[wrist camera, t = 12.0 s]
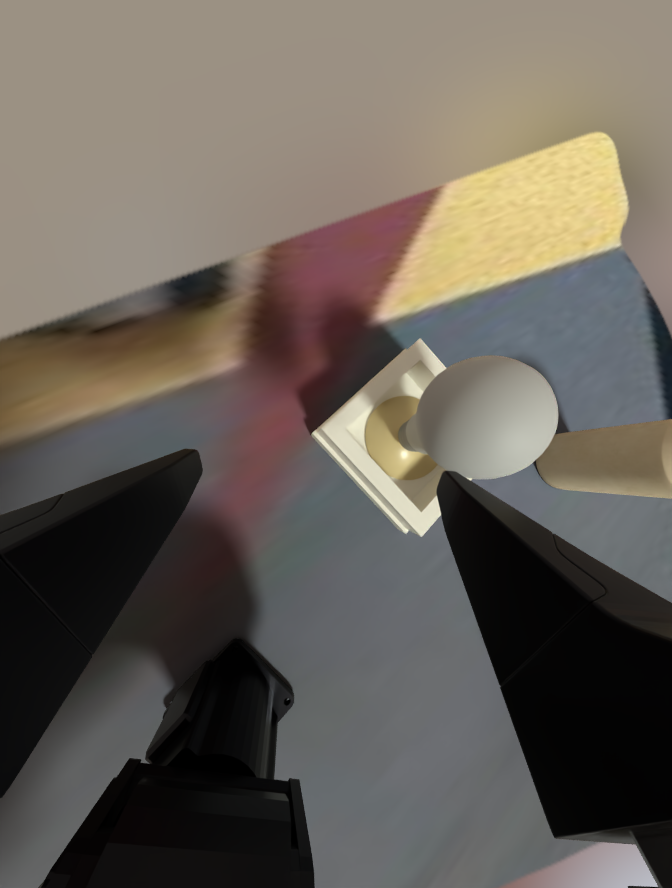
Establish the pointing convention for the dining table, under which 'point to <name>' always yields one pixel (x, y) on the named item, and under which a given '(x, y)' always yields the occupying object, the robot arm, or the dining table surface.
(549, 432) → the lightbulb
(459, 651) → the dining table surface
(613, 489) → the candle
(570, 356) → the dining table surface
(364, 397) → the socket
